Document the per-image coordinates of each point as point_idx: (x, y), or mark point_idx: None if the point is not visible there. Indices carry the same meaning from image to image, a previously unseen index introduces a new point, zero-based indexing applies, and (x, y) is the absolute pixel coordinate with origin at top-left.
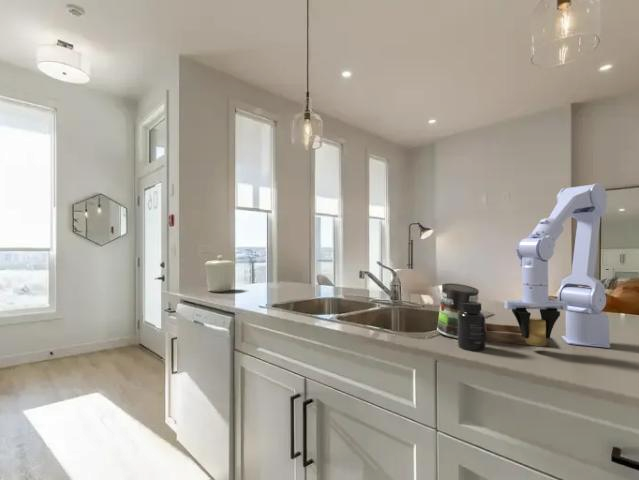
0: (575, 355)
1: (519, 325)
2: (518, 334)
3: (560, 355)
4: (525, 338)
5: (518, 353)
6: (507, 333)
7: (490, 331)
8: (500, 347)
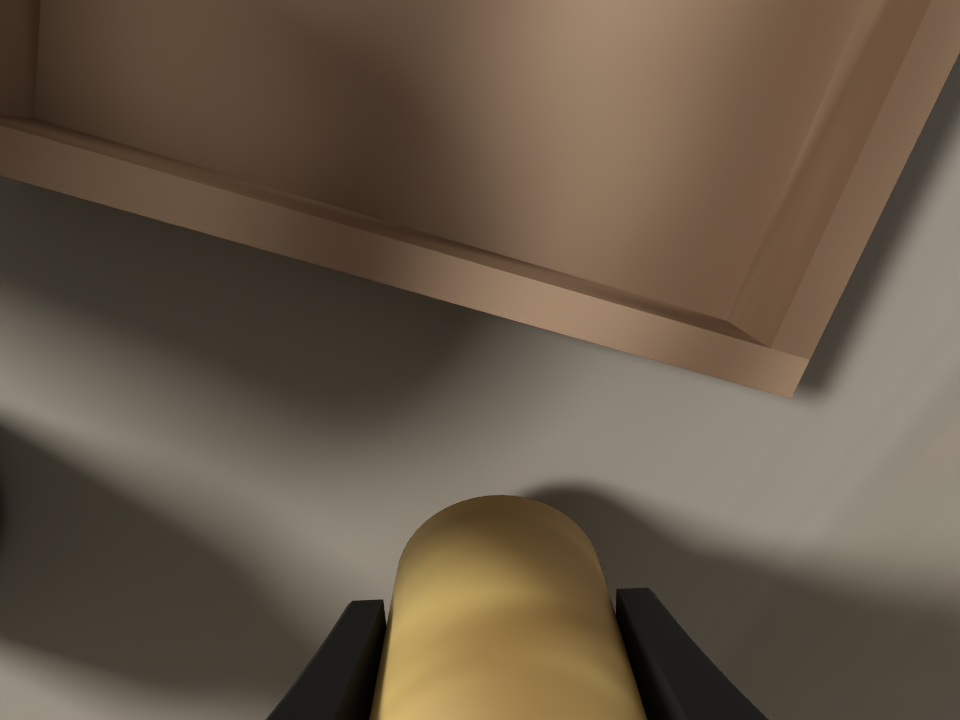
0: (809, 587)
1: (279, 714)
2: (420, 288)
3: (668, 605)
4: (397, 581)
5: (304, 602)
6: (268, 245)
7: (14, 136)
8: (177, 435)
